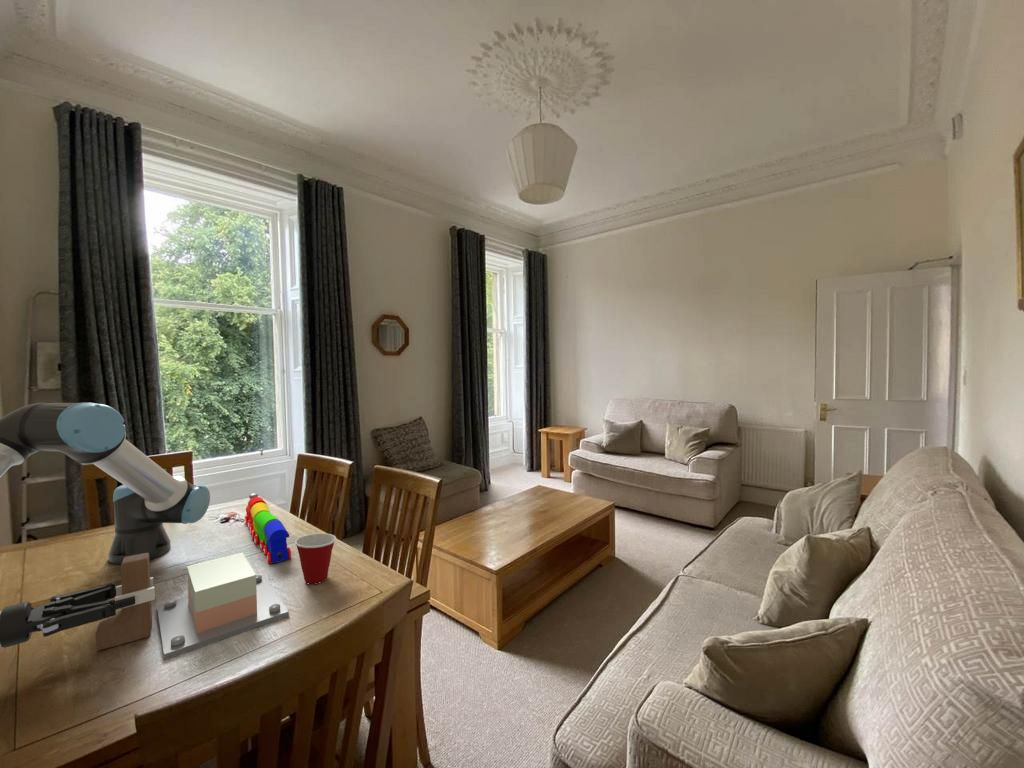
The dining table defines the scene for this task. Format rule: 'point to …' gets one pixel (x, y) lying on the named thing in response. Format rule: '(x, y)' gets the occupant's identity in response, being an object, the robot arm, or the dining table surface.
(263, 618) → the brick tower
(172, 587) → the dining table surface
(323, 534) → the plastic cup
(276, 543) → the toy train
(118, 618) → the wooden block
